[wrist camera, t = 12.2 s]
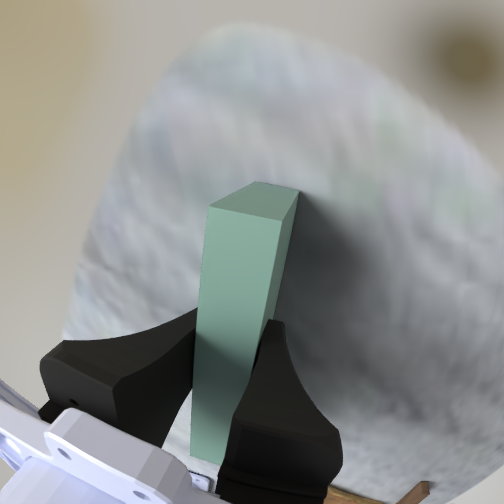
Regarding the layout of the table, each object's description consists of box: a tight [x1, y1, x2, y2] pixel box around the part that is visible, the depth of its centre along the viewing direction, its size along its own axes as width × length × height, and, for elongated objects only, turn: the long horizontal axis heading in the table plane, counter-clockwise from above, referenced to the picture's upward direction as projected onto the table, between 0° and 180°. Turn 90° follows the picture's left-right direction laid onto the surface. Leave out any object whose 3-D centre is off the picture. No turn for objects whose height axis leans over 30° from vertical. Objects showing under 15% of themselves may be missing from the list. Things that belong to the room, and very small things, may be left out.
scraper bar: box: [190, 182, 300, 465], centre depth 13 cm, size 12×2×6 cm, turn 171°
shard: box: [324, 486, 383, 504], centre depth 21 cm, size 11×8×2 cm
